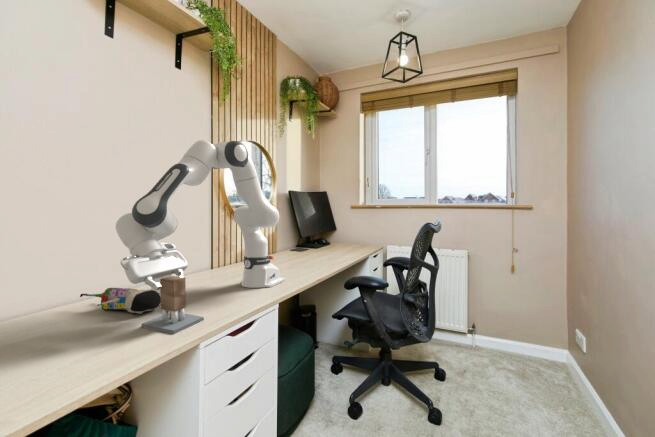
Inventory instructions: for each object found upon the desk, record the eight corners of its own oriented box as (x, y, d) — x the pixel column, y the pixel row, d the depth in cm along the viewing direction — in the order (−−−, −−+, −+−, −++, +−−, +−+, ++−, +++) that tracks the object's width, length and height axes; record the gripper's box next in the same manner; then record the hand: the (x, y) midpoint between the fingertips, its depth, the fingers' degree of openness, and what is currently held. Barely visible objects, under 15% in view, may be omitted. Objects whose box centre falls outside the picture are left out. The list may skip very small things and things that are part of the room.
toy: (62, 316, 106) (124, 322, 97) (62, 291, 106) (124, 294, 97) (124, 301, 128) (180, 304, 118) (124, 280, 128) (180, 282, 119)
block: (172, 304, 102) (171, 275, 101) (185, 307, 100) (185, 277, 99) (160, 309, 98) (160, 278, 97) (174, 311, 95) (173, 280, 95)
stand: (173, 314, 107) (172, 300, 107) (203, 319, 102) (203, 305, 101) (141, 326, 96) (141, 311, 95) (174, 333, 91) (173, 317, 90)
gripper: (122, 252, 91) (146, 287, 88) (178, 243, 110) (199, 272, 107) (113, 265, 93) (136, 300, 90) (169, 255, 112) (190, 283, 109)
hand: (171, 285), depth 99 cm, fingers open, 8 cm apart
